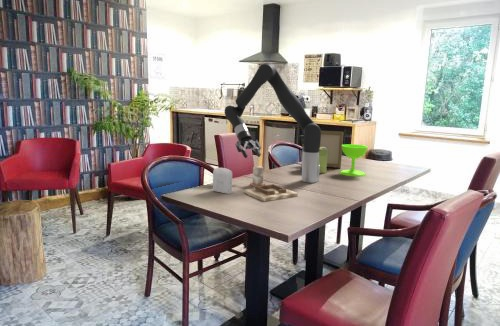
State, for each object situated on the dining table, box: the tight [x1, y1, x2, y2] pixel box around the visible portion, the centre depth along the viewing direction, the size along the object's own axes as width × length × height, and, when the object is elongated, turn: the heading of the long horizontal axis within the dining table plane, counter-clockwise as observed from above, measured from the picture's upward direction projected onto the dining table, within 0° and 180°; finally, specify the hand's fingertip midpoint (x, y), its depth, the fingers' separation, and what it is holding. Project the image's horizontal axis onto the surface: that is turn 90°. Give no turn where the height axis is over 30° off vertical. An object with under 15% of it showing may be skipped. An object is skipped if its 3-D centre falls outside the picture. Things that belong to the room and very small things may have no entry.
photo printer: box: [212, 167, 233, 195], centre depth 185 cm, size 10×4×12 cm, turn 60°
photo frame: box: [320, 130, 344, 169], centre depth 259 cm, size 15×22×25 cm
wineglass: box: [339, 143, 369, 178], centre depth 235 cm, size 16×16×18 cm
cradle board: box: [243, 184, 299, 203], centre depth 183 cm, size 20×18×3 cm
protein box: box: [300, 146, 328, 174], centre depth 241 cm, size 10×15×16 cm
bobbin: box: [249, 165, 266, 188], centre depth 201 cm, size 6×6×10 cm
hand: (253, 156), depth 203 cm, fingers open, 8 cm apart
